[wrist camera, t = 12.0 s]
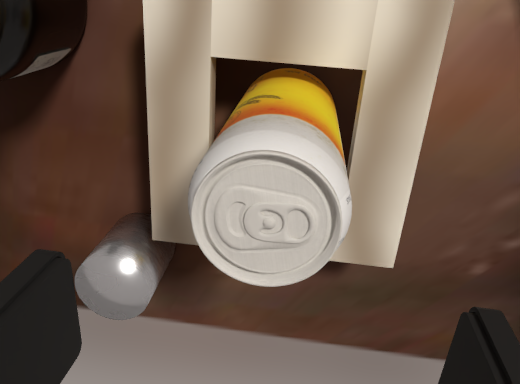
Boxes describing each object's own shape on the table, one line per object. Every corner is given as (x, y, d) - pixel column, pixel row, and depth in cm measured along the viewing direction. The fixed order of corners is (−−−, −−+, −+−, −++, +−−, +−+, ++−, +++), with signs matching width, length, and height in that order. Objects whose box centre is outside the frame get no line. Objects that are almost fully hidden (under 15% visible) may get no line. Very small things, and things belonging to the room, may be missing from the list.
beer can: (241, 64, 28) (174, 135, 15) (339, 67, 28) (364, 145, 14) (241, 155, 31) (184, 288, 17) (331, 160, 30) (345, 302, 17)
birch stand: (429, -3, 25) (454, 0, 21) (381, 228, 32) (393, 268, 27) (171, -22, 26) (141, -24, 22) (174, 204, 33) (152, 239, 28)
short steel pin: (175, 216, 33) (147, 261, 28) (175, 272, 35) (150, 324, 30) (109, 209, 34) (70, 252, 28) (114, 265, 36) (78, 314, 30)
